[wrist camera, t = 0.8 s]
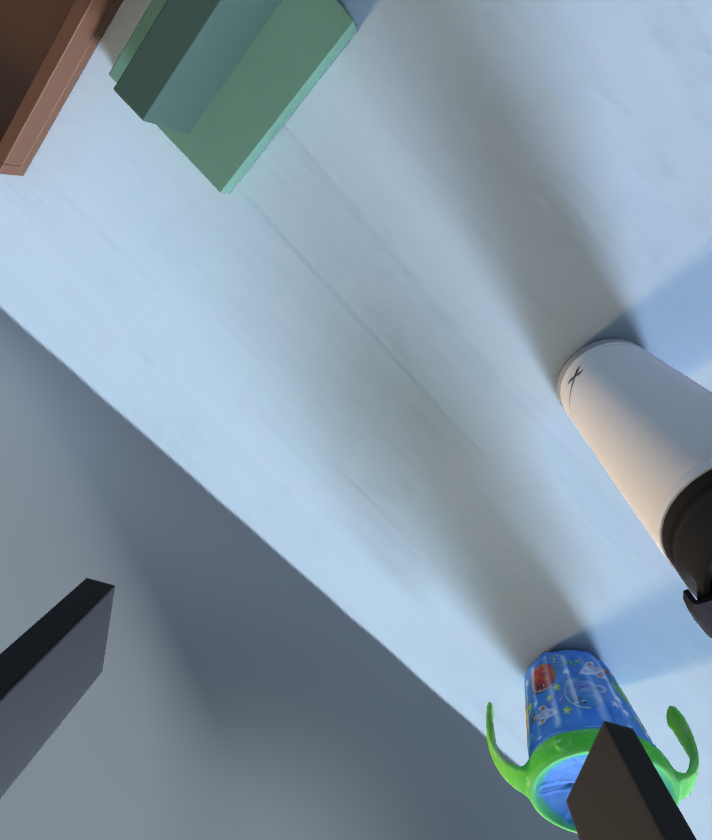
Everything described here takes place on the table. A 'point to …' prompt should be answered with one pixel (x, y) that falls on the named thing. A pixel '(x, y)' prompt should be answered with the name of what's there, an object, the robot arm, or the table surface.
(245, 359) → the table surface
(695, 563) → the travel mug
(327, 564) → the table surface
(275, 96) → the back pad
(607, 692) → the snack cup
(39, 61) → the back frame
